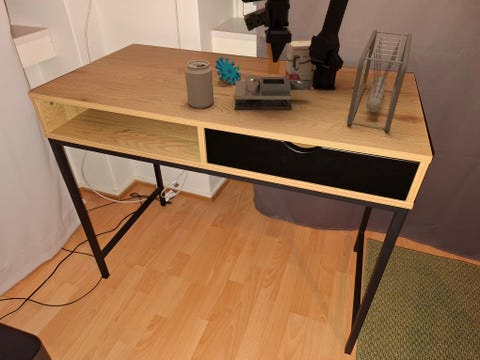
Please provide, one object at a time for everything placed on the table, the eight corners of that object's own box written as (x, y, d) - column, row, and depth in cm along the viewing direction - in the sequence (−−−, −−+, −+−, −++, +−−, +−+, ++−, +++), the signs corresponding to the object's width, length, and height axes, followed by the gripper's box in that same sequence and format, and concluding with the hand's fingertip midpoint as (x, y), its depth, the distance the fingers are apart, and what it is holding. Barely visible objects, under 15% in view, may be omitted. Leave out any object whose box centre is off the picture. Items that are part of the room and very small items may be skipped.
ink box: (288, 82, 117) (291, 45, 110) (284, 77, 121) (287, 41, 114) (313, 81, 118) (318, 44, 111) (309, 76, 122) (313, 40, 115)
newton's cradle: (362, 86, 115) (374, 27, 104) (396, 91, 111) (412, 31, 101) (345, 127, 92) (359, 58, 82) (388, 135, 89) (407, 64, 79)
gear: (227, 85, 111) (212, 57, 111) (216, 94, 115) (202, 67, 116) (249, 79, 119) (234, 53, 119) (238, 89, 123) (224, 63, 123)
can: (203, 111, 100) (200, 69, 93) (182, 105, 103) (178, 64, 96) (218, 102, 105) (217, 61, 98) (198, 96, 108) (195, 56, 101)
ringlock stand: (305, 93, 110) (308, 70, 106) (311, 110, 100) (314, 86, 96) (236, 92, 110) (235, 70, 106) (234, 109, 101) (234, 86, 97)
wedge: (280, 71, 101) (282, 38, 96) (280, 73, 99) (282, 40, 94) (266, 71, 101) (267, 38, 96) (266, 73, 99) (267, 40, 94)
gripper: (246, -9, 97) (245, 50, 106) (245, 6, 82) (245, 73, 91) (287, -9, 96) (283, 50, 106) (294, 6, 81) (289, 73, 91)
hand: (274, 60), depth 98 cm, fingers closed on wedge, 2 cm apart
